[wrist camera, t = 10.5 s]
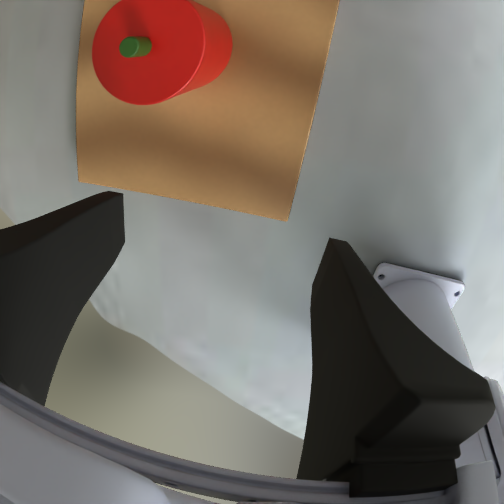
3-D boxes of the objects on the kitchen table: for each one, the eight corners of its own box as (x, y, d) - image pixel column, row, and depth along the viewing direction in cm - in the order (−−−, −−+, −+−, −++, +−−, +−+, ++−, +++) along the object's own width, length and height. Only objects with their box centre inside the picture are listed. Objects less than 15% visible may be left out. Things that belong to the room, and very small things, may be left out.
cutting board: (288, 210, 20) (287, 222, 19) (89, 173, 20) (78, 182, 19) (350, -66, 10) (354, -75, 9) (114, -74, 10) (102, -80, 9)
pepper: (224, 94, 15) (185, 118, 10) (140, 85, 15) (71, 109, 10) (240, 8, 12) (206, -18, 7) (150, 4, 13) (81, -9, 7)
